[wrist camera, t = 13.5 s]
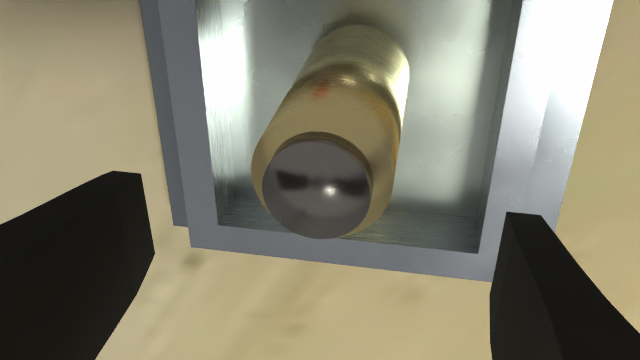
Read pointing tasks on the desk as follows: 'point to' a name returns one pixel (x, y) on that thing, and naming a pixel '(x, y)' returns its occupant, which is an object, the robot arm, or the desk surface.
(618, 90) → the desk surface
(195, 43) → the crank bench
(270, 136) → the cylinder
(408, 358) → the desk surface
